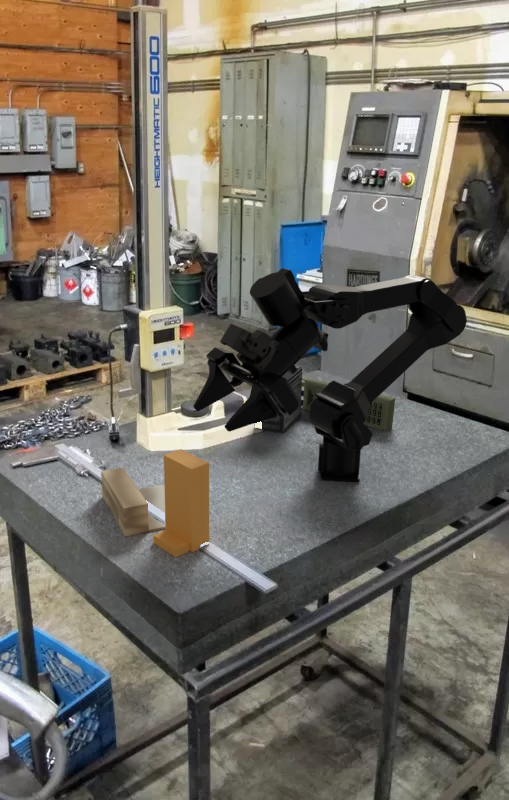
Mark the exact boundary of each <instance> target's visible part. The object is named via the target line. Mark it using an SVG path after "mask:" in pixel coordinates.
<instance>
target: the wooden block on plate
mask: <svg viewBox="0 0 509 800" xmlns="http://www.w3.org/2000/svg"><path fill="white" fill-rule="evenodd" d="M100 476H101V477H100V478H101V480H100V481H101V495H102V496H101V497H102V499H103V501H104V502H105V505H106V506H107V507H108V508H107V509H109V511H110V513H111V515H112V516H113V518H114V520H115V522H116V524H117V526H118V527H119V529H120V531H121V532H122V534H123V536H124V537H129V536H135V535H139V534H144V533H149V532H154V531H160V530H166V526H165V524H163V523H162V522H160V521H158V520H156V519H155V518H154V517H153V516H152V515H150V514H149V513H148V503H147V502H146V500H147V501H148V502H150V503H151V504H153V505H154V506H156V507H157V508H159V509H160V510H162V511H163V512H165V484H159V485H154V486H149V487H143V488H142V487H141V488H138V487H137V485H136V484H135V482H134V481H133V480H132V478H131V476H130V475H129V473H127V471H126V469H125V467H117V468H112V469H106V470H101V471H100Z"/></svg>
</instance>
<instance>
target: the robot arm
mask: <svg viewBox="0 0 509 800" xmlns="http://www.w3.org/2000/svg"><path fill="white" fill-rule="evenodd" d="M249 295H250V297H251V298H252V300H253V302H254V303H255V304H256V306H257V307H258V309H259V310H260V313H261V314H262V316H263V318H264V319H265V321H266V322H267V323H268V325H270V326H272V327H273V326H274V327H277V329H276V330H274V331H273V332H272V333H271V334H270V335H269V334H267V333H266V332H264V331H263V330H262V331H261V330H260V329H256V330H255V331H254V332H253V331H252V332H251V331H250V330H249V331H248V330H247V329H244V328H243V327H240V326H238V325H236V324H233V323H229V325H228V326H227V328H226V330H225V332H224V333H223V335H222V337H221V338H220V340H219V343H221V344H222V345H223V346H228V347H230V349H232V350H234V351H235V352H237V353H236V355H235V354H234V352H232V351H230V350H227V349H225V348H223V347H215V346H214V348H213V349H211V350H210V351H209V352H208V353H207V354H206V358H207V366H208V377H207V379H206V381H205V383H204V386H203V387H202V389H201V391H200V392H199V395H198V396H197V398H196V400H195V402H194V404H193V409H194V410H195V411H196V412H200V411H201V410H204V409H206V408H208V407H209V406H211V405H213V404H215V403H217V402H219V401H220V400H222V399H223V398H225V397H227V396H229V395H231V394H233V393H234V392H236V389H235V388H237V387H239V386H241V385H242V384H243V383H245V384H247V385H249V386H250V387H251V389H250V393H249V397H248V398H247V399H246V400H245V401H244V402H243V403H242V405H240V407H239V408H238V409H237V410H236V411H235V412H234V414H233V415H232V416H231V417H230V418H229V419H228V421H226V423H225V425H224V428H225V430H226V431H227V432H233V431H235V430H238V429H241V428H244V427H247V426H250V425H253V424H254V425H255V423H257V422H260V421H264V420H268V419H271V418H275V417H278V418H281V417H282V414H284V415H286V416H287V417H290V416H291V415H292V414H293V413H294V412H295V411H296V410H297V409H298V407H299V402H300V400H299V398H298V397H297V395H296V393H295V392H294V390H293V389H292V387H291V386H290V384H289V382H288V381H287V379H286V378H283V377H282V376H284V375H285V374H286V373H287V372H289V373H291V374H294V373H295V372H296V371H297V368H296V367H295V366H296V364H297V363H298V362H299V361H300V360H301V359H303V358H304V356H306V355H307V353H308V352H309V351H311V349H313V348H315V349H317V350H320V351H322V352H327V351H328V348H329V343H328V339H329V333H327V332H324V331H323V330H321V329H320V327H319V326H318V324H320V325H321V324H322V325H324V326H326V327H330V328H332V329H335V330H337V329H339V330H340V329H343V328H345V327H347V326H349V325H352V324H354V323H356V322H358V321H359V320H360V319H361V317H363V316H364V315H368V314H369V313H374V312H379V311H383V310H389V309H393V308H397V307H398V308H399V307H403V306H407V309H408V310H409V312H411V315H410V317H409V321H408V325H407V329H405V331H404V332H403V333H402V334H400V335H399V336H398V337H397V338H396V339H395V340H393V342H392V343H391V344H390V345H388V346H387V347H386V348H385V349H384V350H383V351H381V352H380V354H379V355H378V356H376V358H374V359H373V360H372V361H371V362H370V363H369V364H368V365H367V366H366V367H365V368H364V369H363V370H361V371H360V372H359V373H358V374H357V375H356V376H355V377H353V378H352V379H351V380H350V381H349V382H347V383H341V382H338V381H336V380H332V381H330V382H328V383H329V384H328V385H327V386H326V387H325V389H324V390H322V391H321V392H320V393H317V394H315V396H316V397H317V398H316V399H315V400H314V401H313V402H312V404H311V405H310V412H309V415H308V416H309V421H310V423H311V424H312V426H313V427H314V430H315V433H316V434H317V435H320V436H322V442H320V443H319V445H318V447H319V448H318V462H317V463H318V465H317V470H318V472H320V479H321V480H325V481H326V480H327V481H328V480H329V481H330V480H331V481H343V482H345V481H347V482H360V481H361V471H360V467H361V453H362V452H361V451H362V450H363V448H364V447H366V446H369V445H370V443H371V440H372V437H373V432H372V431H371V430H370V429H369V427H368V426H365V424H364V422H365V421H366V419H367V415H368V411H369V407H370V404H371V403H372V402H373V401H374V400H375V399H376V398H377V397H378V396H379V395H382V394H383V392H385V390H387V389H388V388H389V387H390V386H391V385H393V383H394V382H395V381H397V380H398V379H399V378H400V377H401V376H402V375H403V374H404V373H405V372H407V370H409V368H411V366H413V364H415V362H417V361H418V360H419V359H420V358H421V357H422V356H423V355H424V354H425V353H426V352H428V351H430V350H433V349H436V348H438V347H441V346H442V347H443V346H445V345H447V344H449V343H450V342H452V341H454V340H455V339H456V338H457V337H459V336H460V335H461V334H462V333H463V332H464V330H465V328H466V325H467V322H468V321H467V314H466V310H465V308H464V307H463V306H462V305H460V304H457V302H456V301H455V300H453V299H452V298H451V297H450V296H449V295H447V294H446V293H444V291H442V290H441V289H440V288H439V287H438V286H437V285H436V283H435V282H434V281H433V280H432V279H431V278H429V277H424V276H422V275H421V276H420V275H416V274H409V275H405V276H404V277H400V278H399V277H398V278H394V279H388V280H384V281H378V282H374V283H373V282H372V283H368V284H362V285H358V286H357V285H356V286H346V285H345V286H344V285H336V284H315V285H312V286H311V287H310V288H309V289H308V290H304V291H303V290H301V288H300V286H299V285H298V283H297V281H296V278H295V275H294V273H293V272H292V270H291V269H288V268H285V267H282V268H280V269H279V270H278V271H277V272H272V273H269V274H266V275H265V276H263V277H259V278H258V279H257V280H255V282H254V283H253V284H252V286H251V287H250V289H249ZM239 361H240V362H241V363H242V364H241V363H240V362H239ZM281 413H282V414H281Z"/></svg>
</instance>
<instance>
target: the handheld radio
mask: <svg viewBox="0 0 509 800" xmlns="http://www.w3.org/2000/svg"><path fill="white" fill-rule="evenodd" d="M329 383H330V382H326V381H322V380H318V379H314V378H309V377H308V378H307V377H302V388H303V389H302V395H301V396H302V398H303V399H301V407H302V411H306V412H309V413H310V405H311V404H312V402H313V401H314V400H315V399H316V398H317V397H316V396H315V394H317V393H320V392H321V391H322V390H324V389H325V387H326V386H327V385H328V384H329ZM395 405H396V398H395V397H393V396H389V395H384V394H380V395H379V396H378V397H377V398H376V399H375V400H374V401H373V402H372V403H371V404H370V407H369V411H368V415H367V419H366V421H365V422H364V424H365V426H366V427H367V428H372V429H377V430H381V431H385V432H390V431H391V430H392V429H393V425H394V423H393V422H394V412H395Z"/></svg>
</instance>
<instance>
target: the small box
mask: <svg viewBox="0 0 509 800" xmlns="http://www.w3.org/2000/svg"><path fill="white" fill-rule="evenodd" d="M295 367H296V368H297V371H296V372H295V373H294V374H291V373H289V372H287V373H286V374H285V375H284V376H282V377H283V378H286V379H287V381H288V382H289V384H290V386H291V387H292V389H293V390H294V392H295V393H296V395H297V397H298V398H299V400H300V402H299V407H298V409H297V410H296V411H295V412H294V413H293V414H292V415H291V416H290V417H287V416H286V415H284V414H282V413H281V414H282V417H281V418H278V417H275V418H271V419H268V420H264V421H261V422H262V431H268V432H272V433H273V432H274V433H279V434H284V433H285V432H287V430H288V429H289V428H291V426H292V425H293V424H294V423H295V422H296V421H297V420H298V419H299V418H300V417H301V416H302V406H301V400H302V398H303V396H301V395H302V390H303V386H302V382H303V380H302V378H303V366H299V365H295Z"/></svg>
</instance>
